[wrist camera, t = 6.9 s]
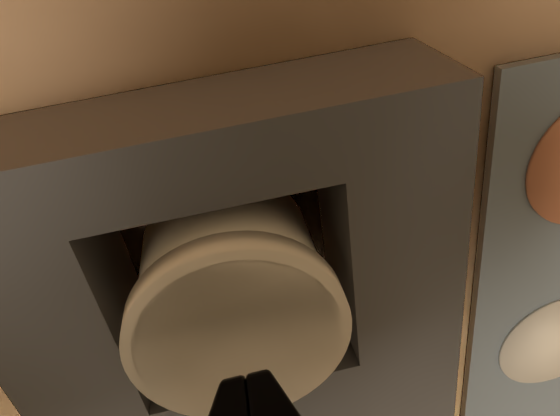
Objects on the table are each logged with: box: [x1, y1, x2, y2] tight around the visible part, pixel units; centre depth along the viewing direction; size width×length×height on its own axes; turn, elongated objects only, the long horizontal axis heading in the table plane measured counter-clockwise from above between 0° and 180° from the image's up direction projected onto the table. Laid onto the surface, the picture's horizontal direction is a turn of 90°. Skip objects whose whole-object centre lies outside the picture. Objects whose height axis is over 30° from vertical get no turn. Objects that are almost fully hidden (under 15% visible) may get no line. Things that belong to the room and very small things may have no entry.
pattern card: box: [460, 53, 560, 416], centre depth 17 cm, size 20×6×1 cm, turn 8°
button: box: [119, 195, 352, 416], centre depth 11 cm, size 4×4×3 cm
